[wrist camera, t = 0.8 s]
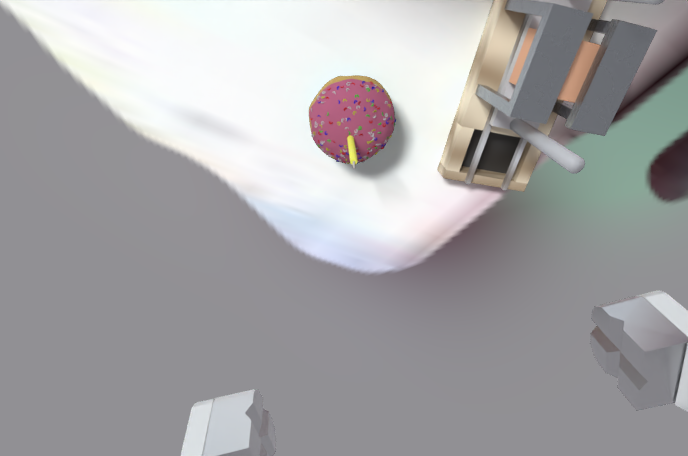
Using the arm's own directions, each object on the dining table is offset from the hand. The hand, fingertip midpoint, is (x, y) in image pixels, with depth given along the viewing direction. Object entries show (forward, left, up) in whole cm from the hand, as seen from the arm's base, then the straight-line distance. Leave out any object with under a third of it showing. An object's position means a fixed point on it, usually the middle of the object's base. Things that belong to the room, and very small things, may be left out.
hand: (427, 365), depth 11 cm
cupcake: (+4, +3, -41) cm, 41 cm away
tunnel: (-5, +20, -38) cm, 44 cm away
